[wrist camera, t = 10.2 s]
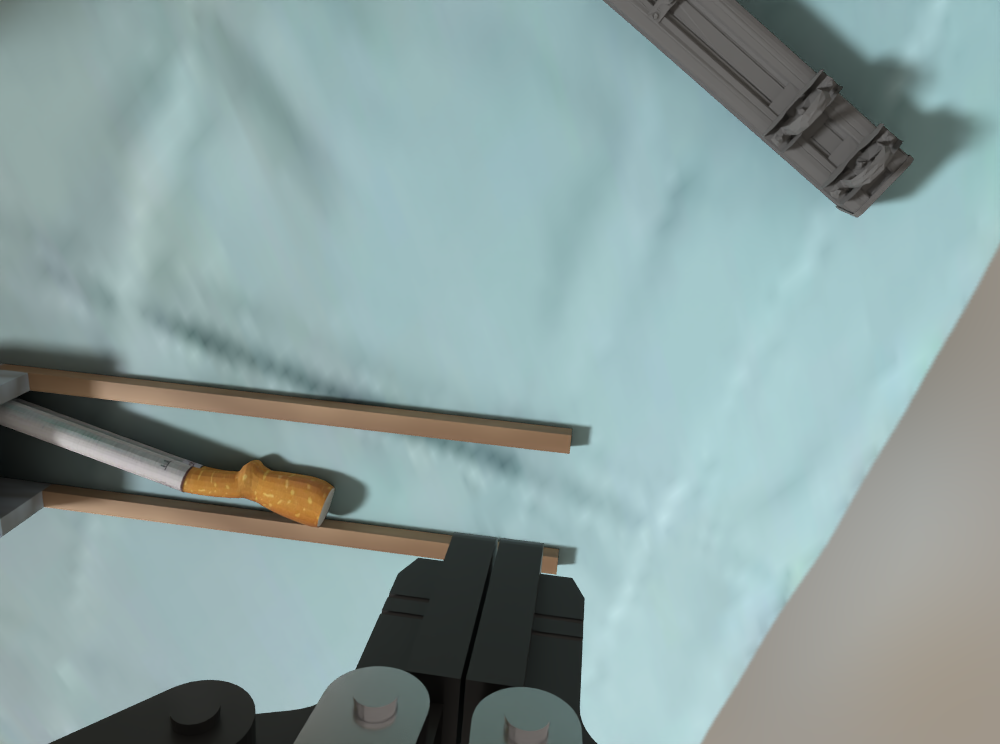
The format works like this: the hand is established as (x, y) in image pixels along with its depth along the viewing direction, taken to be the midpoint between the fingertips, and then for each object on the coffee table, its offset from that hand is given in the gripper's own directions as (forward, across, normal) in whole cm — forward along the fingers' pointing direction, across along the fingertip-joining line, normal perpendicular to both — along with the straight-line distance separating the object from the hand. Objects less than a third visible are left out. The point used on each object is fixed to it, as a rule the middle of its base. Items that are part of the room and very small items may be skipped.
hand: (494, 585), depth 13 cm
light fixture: (+28, -7, -9) cm, 30 cm away
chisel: (+27, +21, +12) cm, 36 cm away
